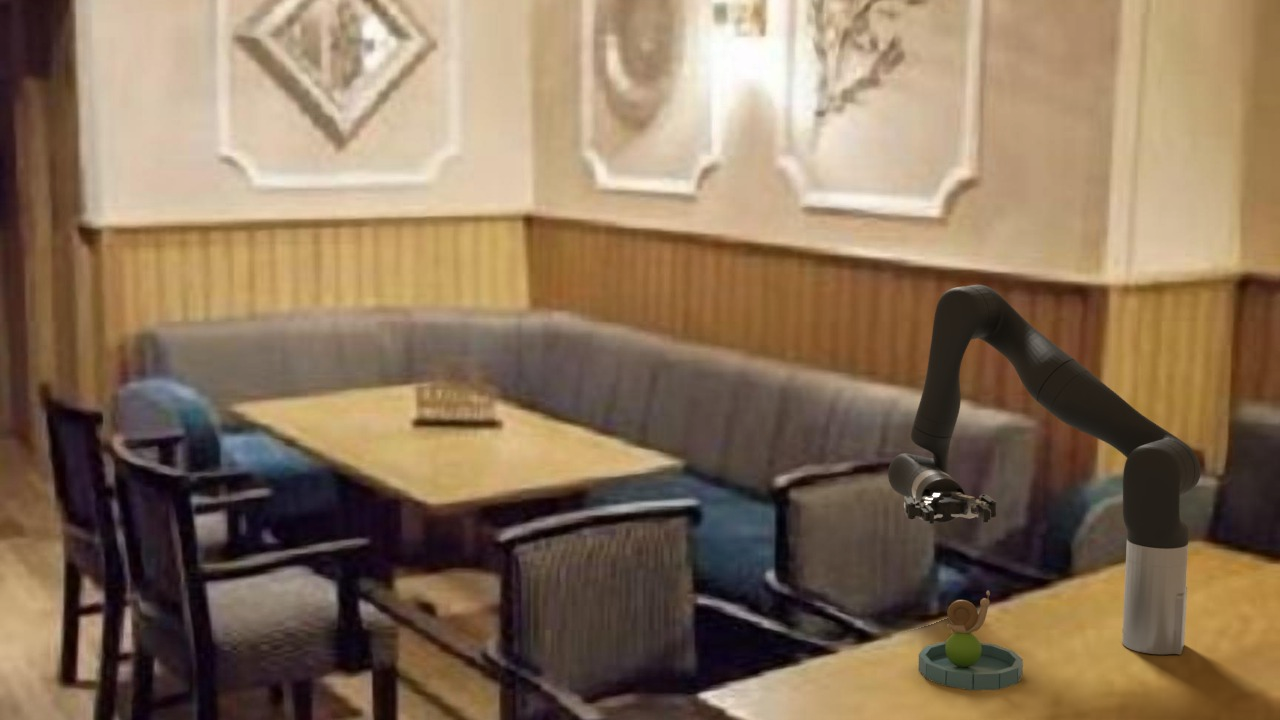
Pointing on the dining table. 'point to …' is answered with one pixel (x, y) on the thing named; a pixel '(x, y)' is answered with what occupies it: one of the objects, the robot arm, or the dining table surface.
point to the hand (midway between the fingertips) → (959, 516)
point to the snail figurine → (965, 632)
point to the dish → (972, 668)
